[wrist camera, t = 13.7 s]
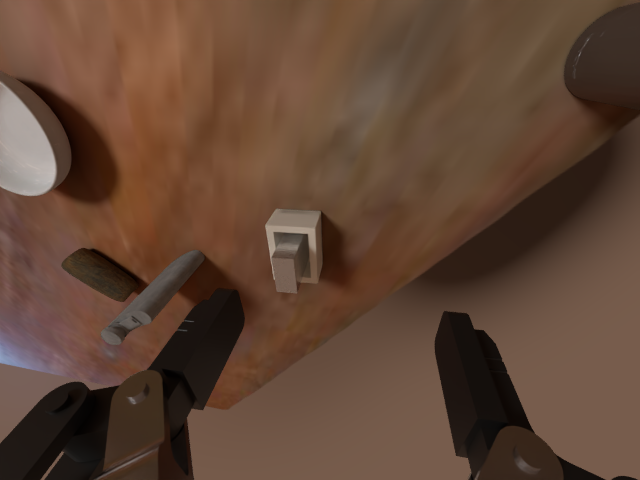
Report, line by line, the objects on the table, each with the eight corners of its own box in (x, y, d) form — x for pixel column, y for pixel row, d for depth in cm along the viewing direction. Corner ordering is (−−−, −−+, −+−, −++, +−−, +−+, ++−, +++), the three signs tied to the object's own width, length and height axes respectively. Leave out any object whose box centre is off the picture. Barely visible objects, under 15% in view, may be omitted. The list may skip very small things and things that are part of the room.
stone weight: (80, 256, 67) (54, 274, 62) (87, 240, 64) (60, 257, 58) (137, 291, 71) (116, 311, 66) (145, 278, 68) (125, 297, 62)
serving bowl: (108, 135, 48) (73, 145, 43) (70, 201, 58) (37, 216, 52) (-15, 24, 42) (-76, 19, 36) (-35, 119, 51) (-86, 127, 46)
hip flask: (169, 285, 67) (102, 358, 51) (155, 274, 66) (82, 345, 50) (207, 257, 60) (144, 332, 44) (193, 244, 59) (122, 316, 42)
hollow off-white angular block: (321, 211, 49) (315, 227, 44) (322, 263, 56) (317, 283, 51) (276, 208, 51) (265, 225, 46) (282, 260, 57) (274, 279, 52)
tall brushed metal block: (306, 226, 50) (293, 259, 42) (309, 257, 54) (297, 293, 45) (288, 225, 50) (271, 257, 42) (291, 256, 54) (276, 291, 46)
